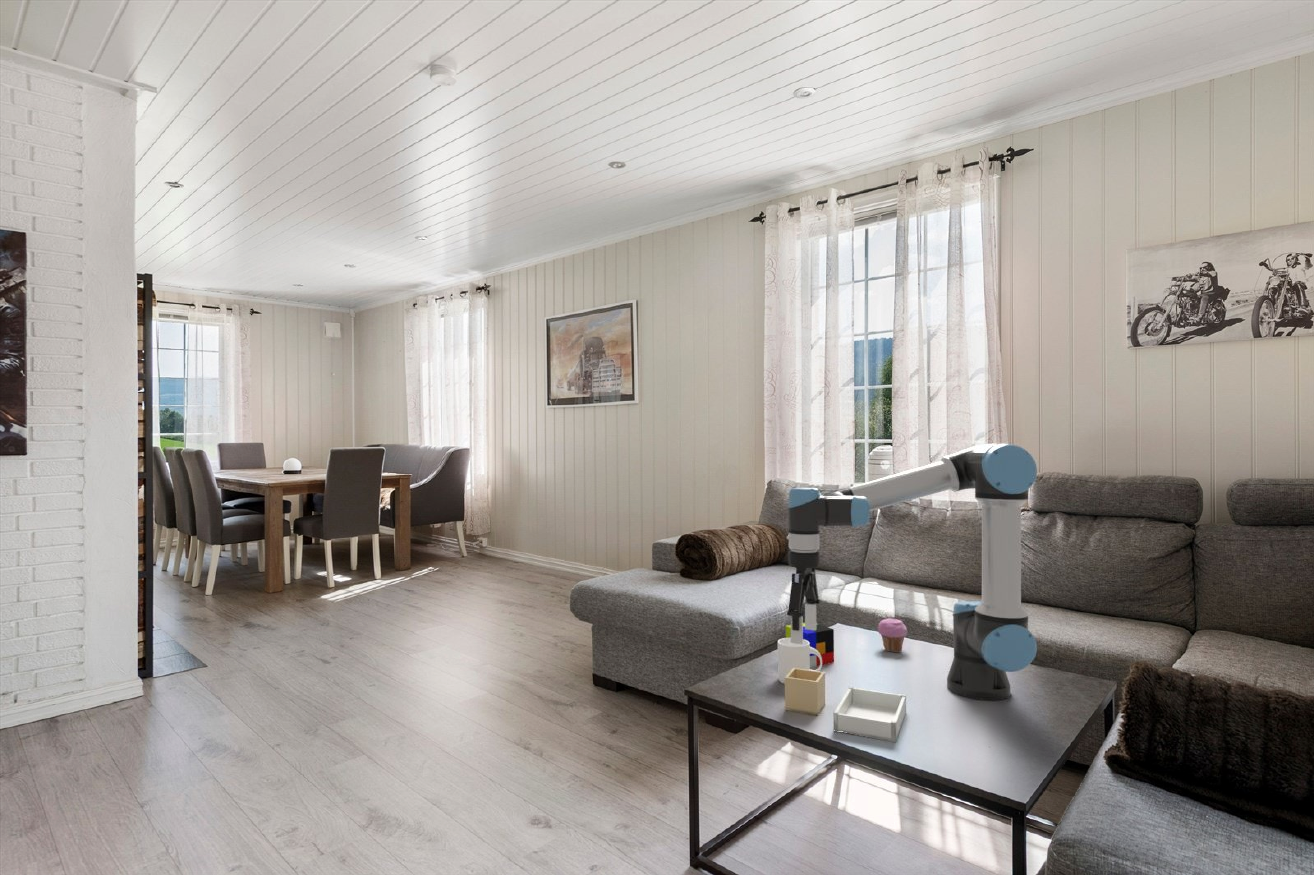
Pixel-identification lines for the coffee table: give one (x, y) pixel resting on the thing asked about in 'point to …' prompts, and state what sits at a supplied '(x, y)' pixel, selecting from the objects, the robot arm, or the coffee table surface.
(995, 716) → the coffee table surface
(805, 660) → the mug
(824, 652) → the puzzle toy
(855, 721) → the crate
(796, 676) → the small crate
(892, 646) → the cupcake
